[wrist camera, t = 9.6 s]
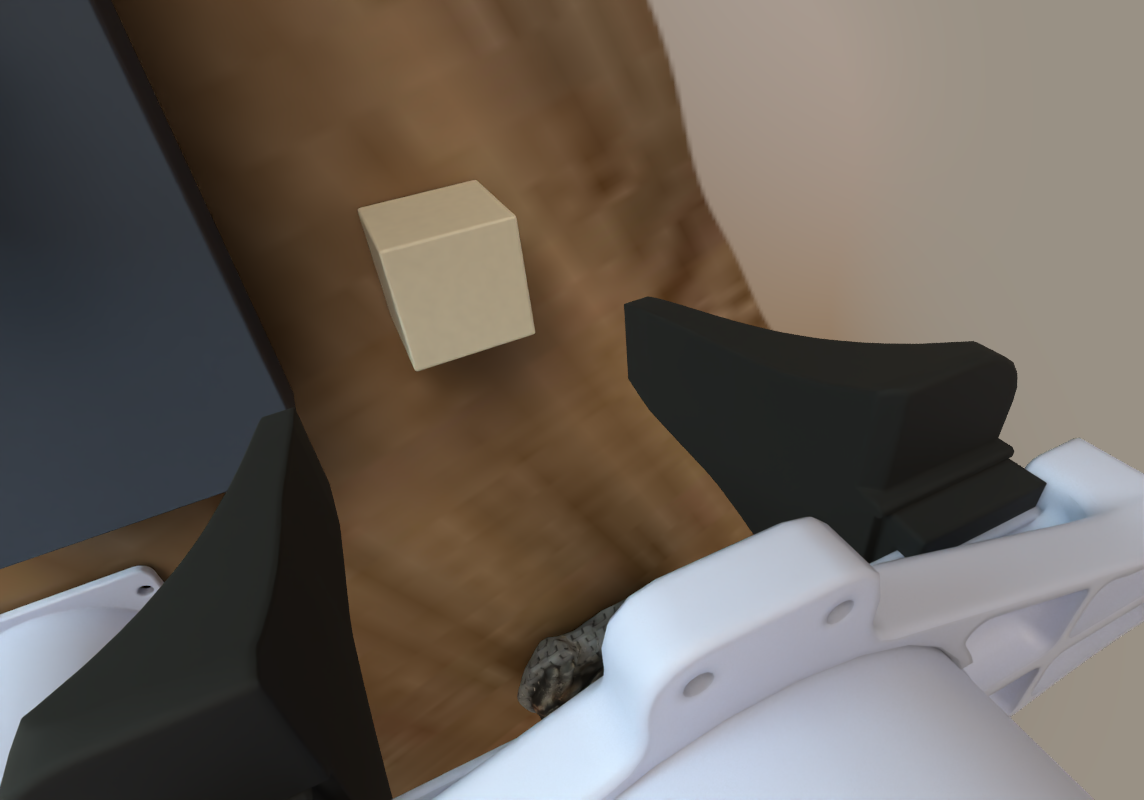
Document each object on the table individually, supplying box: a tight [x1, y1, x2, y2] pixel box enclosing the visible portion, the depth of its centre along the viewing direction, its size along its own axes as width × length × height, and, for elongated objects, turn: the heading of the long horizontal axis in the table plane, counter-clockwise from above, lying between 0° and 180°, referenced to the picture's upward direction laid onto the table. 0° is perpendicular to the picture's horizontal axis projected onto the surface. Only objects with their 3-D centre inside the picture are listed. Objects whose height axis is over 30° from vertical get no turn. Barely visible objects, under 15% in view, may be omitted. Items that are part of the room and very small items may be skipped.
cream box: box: [358, 180, 535, 371], centre depth 20 cm, size 4×4×4 cm
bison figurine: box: [517, 598, 627, 720], centre depth 34 cm, size 12×7×10 cm, turn 113°
